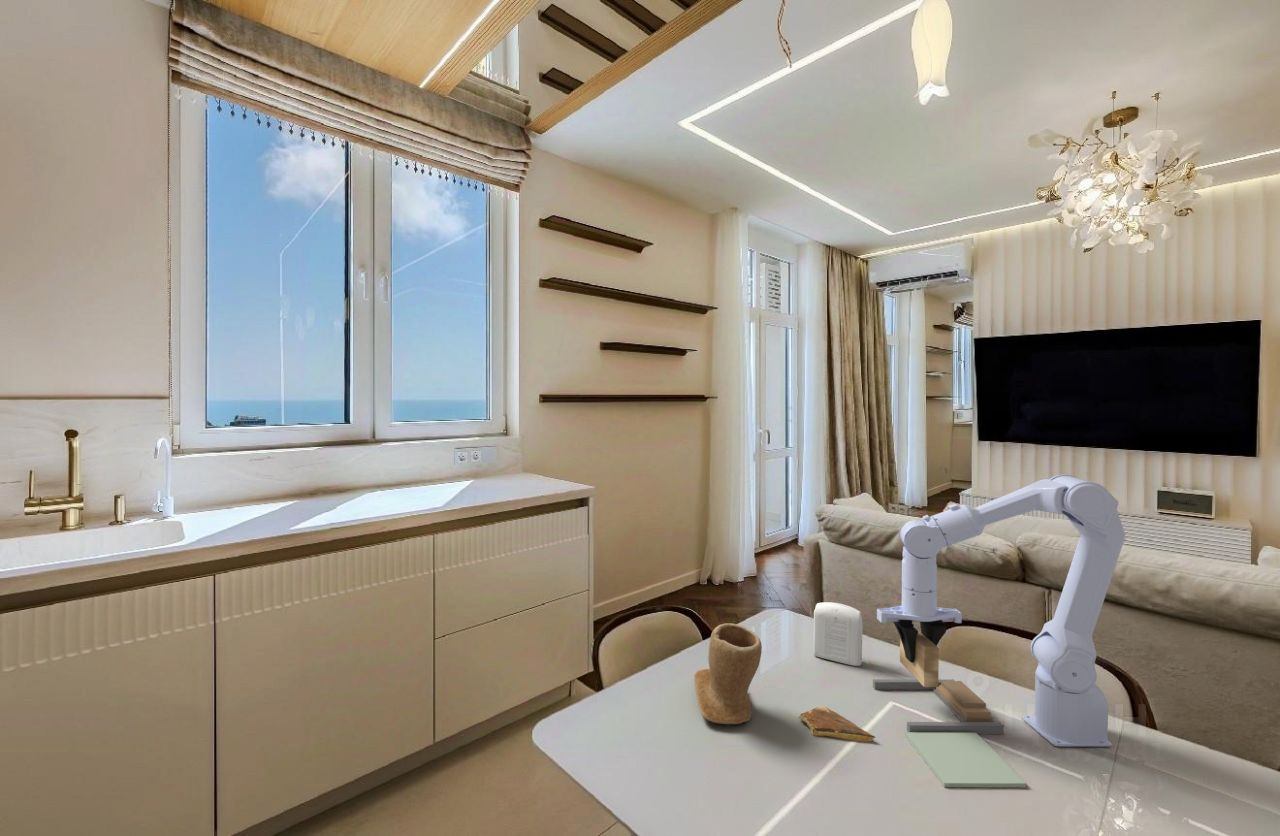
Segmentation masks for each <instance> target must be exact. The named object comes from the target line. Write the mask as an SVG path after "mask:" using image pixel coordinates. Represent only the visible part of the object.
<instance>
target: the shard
mask: <svg viewBox="0 0 1280 836" xmlns="http://www.w3.org/2000/svg"><path fill="white" fill-rule="evenodd" d="M798 719H799V720H800V721H801V722H803V721H804V722H803V723H805V724H806V725H807V727H808V728H809V730H810V732H811V734H812V736H815V737H818V736H819V737H825V736H826V737H832V738H837V739H838V738H839V739H843V740H849V741H856V742H869V743H870V742H873V739H875V738H876V735H875V736H874V735H872V734H871V733H870V732H868V731H866V730H864V729H862V728H860V727H859V726H858V725H856V724H855V723H854V722H852V721H850V720H849V719H847V718H846V717H844V716H842V715H841V714H839V713H837V712H835V711H834V710H831V709H829V708H828V707H815V708H812V709H810V710H808V711H806V712H803V713H800V714H799V716H798Z"/></svg>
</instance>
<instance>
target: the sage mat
mask: <svg viewBox="0 0 1280 836" xmlns="http://www.w3.org/2000/svg"><path fill="white" fill-rule="evenodd" d="M904 734H905V738H906V739H907V740H908V741H909V743H910V744H911V745H912V747H913V748H914V749H915V751H916V752H917V754H918V755H919V756H920V758H921V759H922V760H923V761H924V763H925V764H926V765H927V767H929V769H930V770H931V771H932V772H931V773H933V774H934V775H935V777H936V778H937V780H938V781H939V782H940V784H941V785H942V786H943V788H1027V783H1026V782H1025V780H1024V779H1022V778H1021V776H1020V775H1018V773H1016V772H1015V770H1014V769H1013V768H1011V766H1010V765H1008V763H1006V761H1005V760H1004V759H1003V758H1002V757H1001V756H1000V755H999V754H998V753H997V752H996V751H995V750H994V749H993V748H992V747H991V746H990V745H989V744H988V743H987V742H986V740H984V739H983V738H982V737H981V736H980V734H977V733H947V732H908V731H907V732H905V733H904Z"/></svg>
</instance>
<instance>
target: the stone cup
mask: <svg viewBox="0 0 1280 836" xmlns="http://www.w3.org/2000/svg"><path fill="white" fill-rule="evenodd" d="M762 649H763V647H762V641H761V639H760V638H759V636H758V635H757V633H755V632H753V630H751V629H750V628H747V627H745V626H743V625H740V624H736V623H726V622H725V623H721V624H719V625H716V627H714V629H713V630H712V632H711V634H710V639H709V647H708V656H707V657H708V666H709V667H708V668H704V669H700V670H697V671H696V672H695V673H694V678H693V679H694V688H695V689H694V690H695V697H696V702H697V706H698V709H699V712H700V714H701V716H702V717H703V718H704V720H707V721H708V722H711V723H714V724H720V725H739V724H742V723H746V722H748V721H750V719H751V717H752V703H751V699H750V696H749V694H748V691H749V688H750V685H751V683H752V681H753V679H754V677H755V675H756V673H757V671H758V669H759V667H760V662H761V657H762Z"/></svg>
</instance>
